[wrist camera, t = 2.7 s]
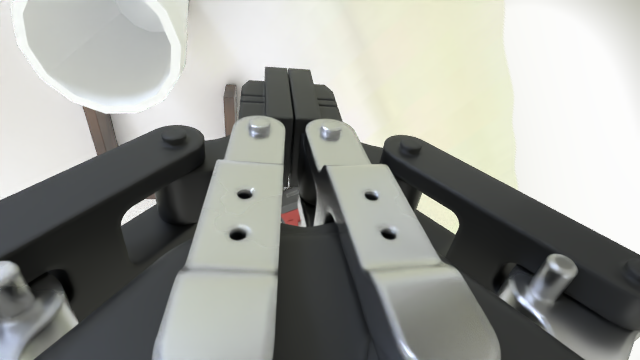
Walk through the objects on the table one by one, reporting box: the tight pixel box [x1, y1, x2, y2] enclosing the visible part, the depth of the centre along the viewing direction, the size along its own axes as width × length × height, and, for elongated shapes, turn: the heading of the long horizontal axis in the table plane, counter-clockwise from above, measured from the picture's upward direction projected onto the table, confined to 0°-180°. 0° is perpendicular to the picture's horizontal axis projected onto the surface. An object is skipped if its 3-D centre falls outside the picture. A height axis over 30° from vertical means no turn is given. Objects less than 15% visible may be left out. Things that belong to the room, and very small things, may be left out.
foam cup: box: [10, 0, 189, 114], centre depth 29 cm, size 10×9×13 cm
